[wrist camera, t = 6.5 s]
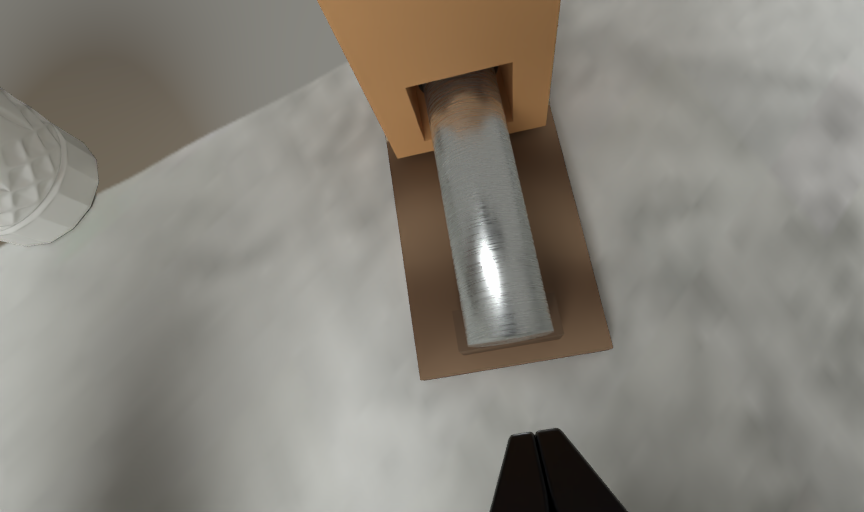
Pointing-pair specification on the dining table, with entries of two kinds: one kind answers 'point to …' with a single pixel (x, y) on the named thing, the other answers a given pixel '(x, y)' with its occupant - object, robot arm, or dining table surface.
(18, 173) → the white cup
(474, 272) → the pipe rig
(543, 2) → the tan block
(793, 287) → the dining table surface
